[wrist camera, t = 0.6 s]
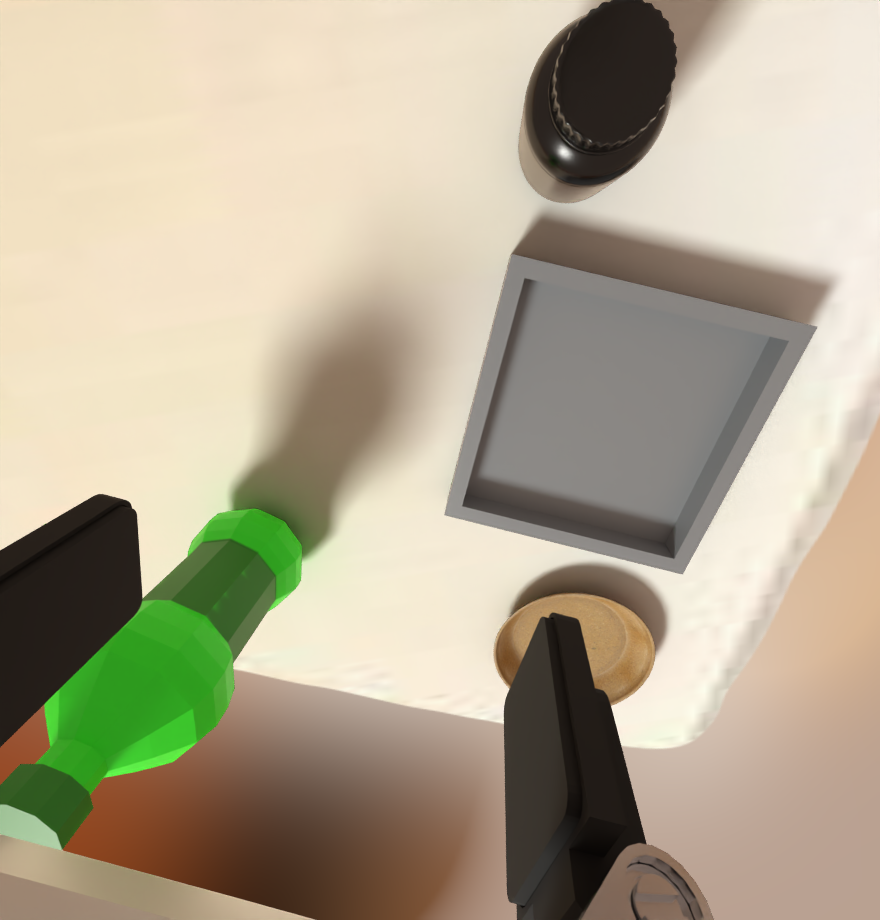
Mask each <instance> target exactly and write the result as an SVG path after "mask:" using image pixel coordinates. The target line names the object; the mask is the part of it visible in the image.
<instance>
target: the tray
mask: <svg viewBox="0 0 880 920" xmlns="http://www.w3.org/2000/svg"><path fill="white" fill-rule="evenodd" d="M816 329H817V327H816V326H812V325H808V324H804V323H799V322H795V321H791V320H787V319H783V318H778V317H774V316H770V315H766V314H762V313H757V312H753V311H749V310H745V309H741V308H736V307H732V306H728V305H724V304H720V303H715V302H711V301H707V300H703V299H699V298H694V297H690V296H686V295H682V294H678V293H673V292H669V291H665V290H661V289H657V288H652V287H648V286H644V285H640V284H636V283H631V282H627V281H623V280H619V279H615V278H610V277H606V276H602V275H598V274H594V273H589V272H585V271H581V270H577V269H573V268H569V267H564V266H560V265H556V264H552V263H548V262H543V261H539V260H535V259H531V258H527V257H522V256H518V255H514V254H511V255H510V259H509V262H508V266H507V270H506V274H505V278H504V282H503V286H502V290H501V294H500V297H499V301H498V305H497V309H496V313H495V317H494V321H493V325H492V329H491V332H490V336H489V340H488V344H487V348H486V352H485V356H484V360H483V364H482V368H481V371H480V375H479V379H478V383H477V387H476V391H475V395H474V399H473V403H472V406H471V410H470V414H469V418H468V422H467V426H466V430H465V434H464V438H463V442H462V445H461V449H460V453H459V457H458V461H457V465H456V469H455V473H454V477H453V480H452V484H451V488H450V492H449V496H448V500H447V505H446V510H445V515H446V516H450V517H454V518H458V519H462V520H466V521H470V522H474V523H478V524H482V525H486V526H490V527H494V528H498V529H502V530H506V531H510V532H514V533H518V534H522V535H526V536H530V537H534V538H538V539H542V540H546V541H550V542H554V543H558V544H562V545H566V546H570V547H575V548H579V549H583V550H587V551H591V552H595V553H599V554H603V555H607V556H611V557H615V558H619V559H623V560H627V561H631V562H635V563H639V564H643V565H647V566H651V567H655V568H659V569H663V570H667V571H671V572H675V573H679V574H683V573H684V571H685V569H686V567H687V565H688V564H689V562H690V560H691V558H692V556H693V554H694V553H695V551H696V549H697V547H698V545H699V543H700V542H701V540H702V538H703V536H704V534H705V532H706V531H707V529H708V527H709V525H710V523H711V521H712V520H713V518H714V516H715V514H716V512H717V510H718V509H719V507H720V505H721V503H722V501H723V499H724V498H725V496H726V494H727V492H728V490H729V488H730V487H731V485H732V483H733V481H734V479H735V477H736V476H737V474H738V472H739V470H740V468H741V466H742V465H743V463H744V461H745V459H746V457H747V455H748V453H749V452H750V450H751V448H752V446H753V444H754V442H755V441H756V439H757V437H758V435H759V433H760V431H761V430H762V428H763V426H764V424H765V422H766V420H767V419H768V417H769V415H770V413H771V411H772V409H773V408H774V406H775V404H776V402H777V400H778V398H779V397H780V395H781V393H782V391H783V389H784V387H785V386H786V384H787V382H788V380H789V378H790V376H791V375H792V373H793V371H794V369H795V367H796V365H797V364H798V362H799V360H800V358H801V356H802V354H803V353H804V351H805V349H806V347H807V345H808V343H809V342H810V340H811V338H812V336H813V334H814V332H815V330H816Z"/></svg>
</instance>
